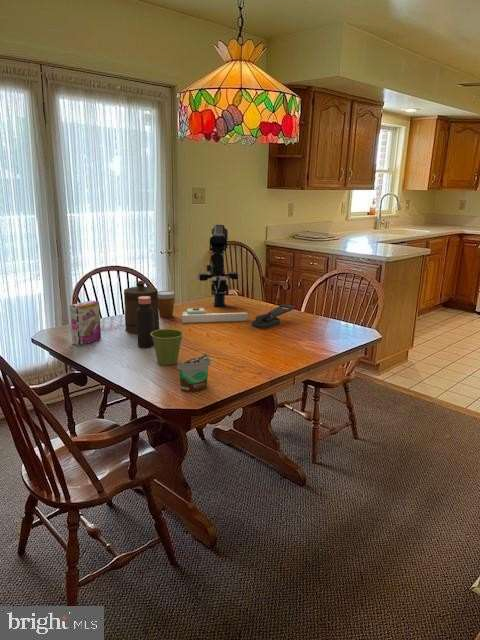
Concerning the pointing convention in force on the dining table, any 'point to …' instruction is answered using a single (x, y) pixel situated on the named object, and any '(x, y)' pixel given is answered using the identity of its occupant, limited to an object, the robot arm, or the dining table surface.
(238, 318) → the cleat board
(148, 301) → the bottle
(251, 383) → the dining table surface
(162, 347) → the plant pot
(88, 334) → the candy bar box
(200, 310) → the cabinet block
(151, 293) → the wooden container
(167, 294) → the disposable coffee cup
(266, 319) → the dark grey elongated piece
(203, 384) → the food container
